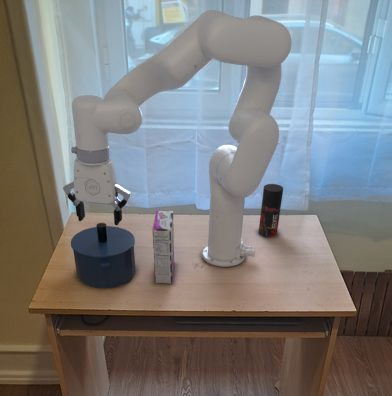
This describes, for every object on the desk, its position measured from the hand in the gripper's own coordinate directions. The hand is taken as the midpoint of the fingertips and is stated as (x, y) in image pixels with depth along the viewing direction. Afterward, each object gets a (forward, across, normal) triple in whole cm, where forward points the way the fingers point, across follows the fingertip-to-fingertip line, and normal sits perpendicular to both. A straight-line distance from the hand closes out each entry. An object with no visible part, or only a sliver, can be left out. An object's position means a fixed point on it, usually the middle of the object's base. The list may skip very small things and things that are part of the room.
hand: (99, 221), depth 129 cm
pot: (+16, 0, 0) cm, 16 cm away
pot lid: (+6, 0, 0) cm, 6 cm away
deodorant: (+15, +44, +34) cm, 57 cm away
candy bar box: (+16, +16, +3) cm, 23 cm away
